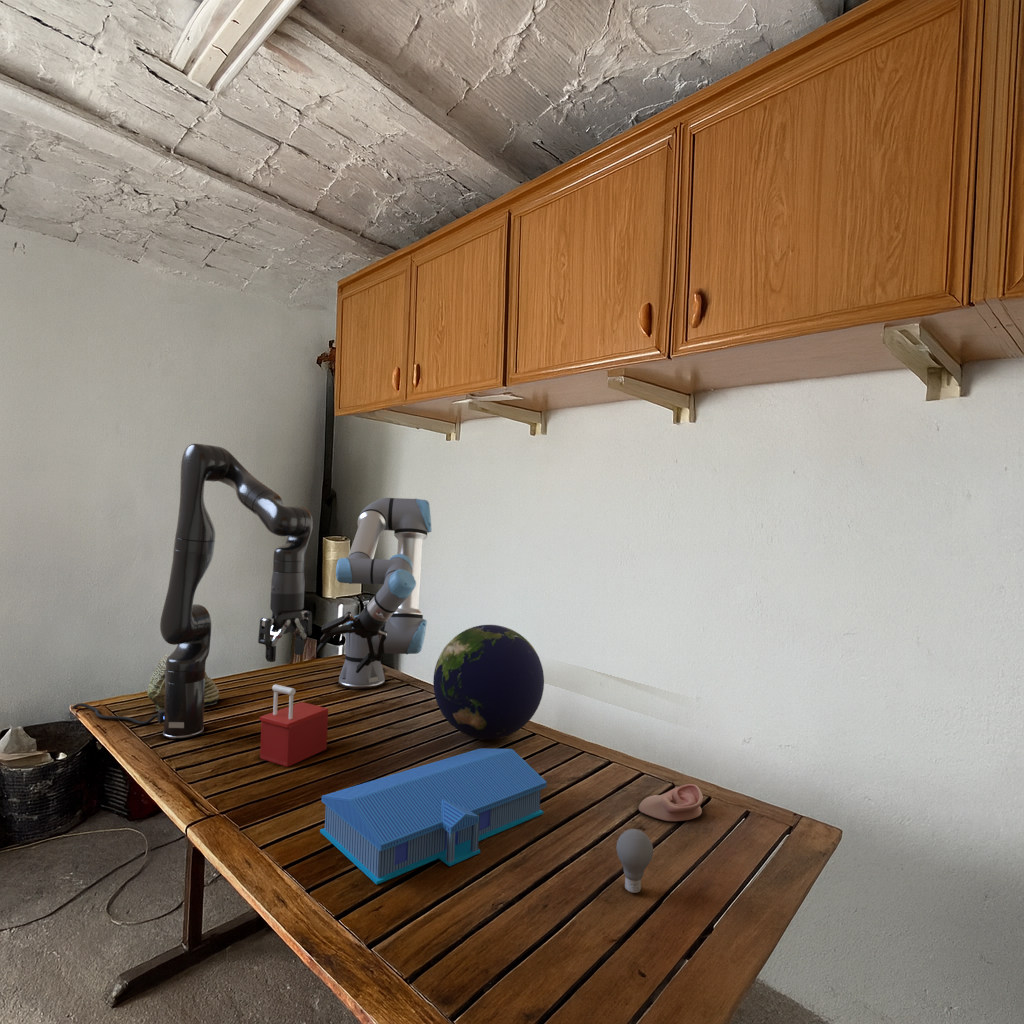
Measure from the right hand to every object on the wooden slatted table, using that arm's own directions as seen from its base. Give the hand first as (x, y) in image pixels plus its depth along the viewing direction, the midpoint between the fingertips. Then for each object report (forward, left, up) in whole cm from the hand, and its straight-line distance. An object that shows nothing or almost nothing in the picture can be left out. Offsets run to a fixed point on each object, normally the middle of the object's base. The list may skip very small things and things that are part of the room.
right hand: (338, 660), depth 191 cm
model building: (+66, +42, -14) cm, 80 cm away
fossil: (+8, -43, -14) cm, 45 cm away
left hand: (+40, 0, +11) cm, 42 cm away
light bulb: (+83, +77, -14) cm, 114 cm away
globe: (+18, +47, -14) cm, 52 cm away
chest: (+37, +1, -14) cm, 39 cm away
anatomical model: (+54, +89, -14) cm, 105 cm away
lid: (+37, +1, -4) cm, 37 cm away
